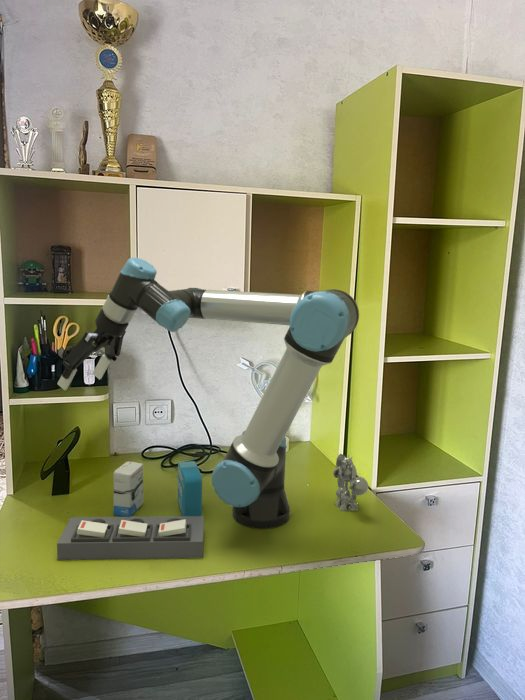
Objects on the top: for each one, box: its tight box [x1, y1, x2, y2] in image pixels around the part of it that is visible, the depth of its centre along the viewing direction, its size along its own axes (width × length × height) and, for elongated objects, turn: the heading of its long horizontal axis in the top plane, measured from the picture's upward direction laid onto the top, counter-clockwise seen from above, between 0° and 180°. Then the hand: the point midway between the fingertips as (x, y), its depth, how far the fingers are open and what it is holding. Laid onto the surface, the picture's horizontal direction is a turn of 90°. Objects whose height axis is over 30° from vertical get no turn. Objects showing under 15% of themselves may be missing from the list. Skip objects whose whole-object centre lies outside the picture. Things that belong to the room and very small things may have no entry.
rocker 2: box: [158, 519, 187, 537], centre depth 127 cm, size 6×4×1 cm, turn 95°
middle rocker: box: [118, 520, 147, 537], centre depth 126 cm, size 6×4×1 cm, turn 95°
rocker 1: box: [77, 520, 108, 538], centre depth 125 cm, size 6×4×1 cm, turn 95°
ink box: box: [112, 461, 144, 517], centre depth 146 cm, size 8×5×12 cm, turn 168°
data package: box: [177, 460, 203, 516], centre depth 146 cm, size 12×4×12 cm, turn 17°
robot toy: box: [333, 453, 369, 512], centre depth 150 cm, size 15×6×15 cm, turn 17°
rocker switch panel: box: [56, 515, 205, 561], centre depth 129 cm, size 32×12×5 cm, turn 95°
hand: (79, 381), depth 143 cm, fingers open, 13 cm apart
